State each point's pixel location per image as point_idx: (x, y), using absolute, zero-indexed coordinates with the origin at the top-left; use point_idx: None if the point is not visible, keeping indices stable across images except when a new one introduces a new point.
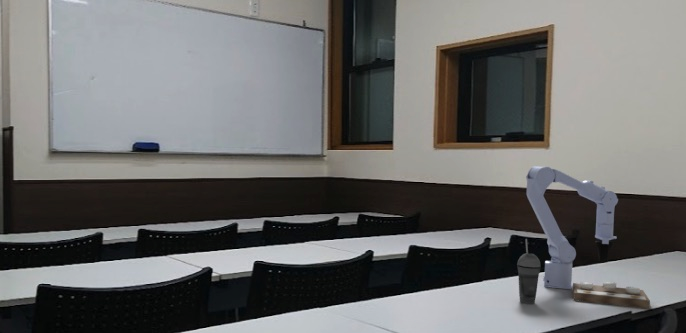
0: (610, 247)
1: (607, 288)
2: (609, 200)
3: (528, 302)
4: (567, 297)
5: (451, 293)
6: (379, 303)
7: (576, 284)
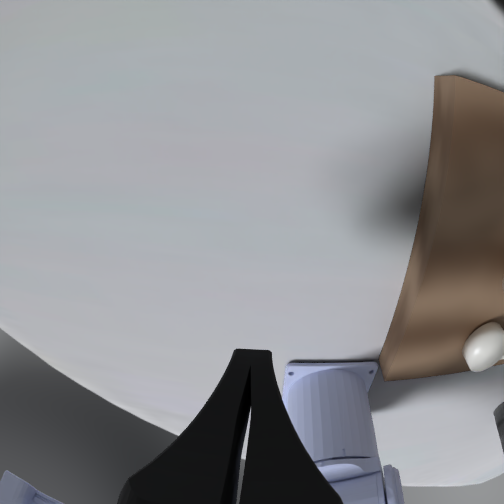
0: (324, 478)
1: None
2: None
3: None
4: None
5: (437, 473)
6: (478, 477)
7: (409, 371)
